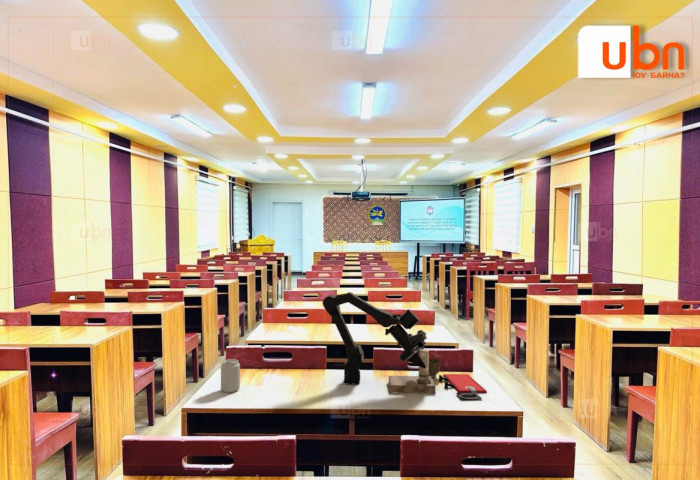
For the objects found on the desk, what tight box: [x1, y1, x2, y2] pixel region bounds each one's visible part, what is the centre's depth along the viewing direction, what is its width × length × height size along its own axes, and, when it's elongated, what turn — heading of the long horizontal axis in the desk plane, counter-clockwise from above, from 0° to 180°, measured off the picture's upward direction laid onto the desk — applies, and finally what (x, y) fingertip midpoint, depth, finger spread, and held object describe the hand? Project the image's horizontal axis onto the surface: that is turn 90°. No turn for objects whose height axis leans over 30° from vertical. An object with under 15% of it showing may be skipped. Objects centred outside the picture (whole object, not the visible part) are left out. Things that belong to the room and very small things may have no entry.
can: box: [220, 358, 241, 394], centre depth 179 cm, size 8×8×12 cm
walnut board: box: [388, 375, 436, 394], centre depth 184 cm, size 18×12×3 cm, turn 89°
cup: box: [429, 357, 442, 379], centre depth 197 cm, size 8×7×8 cm
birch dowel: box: [417, 348, 430, 384], centre depth 182 cm, size 4×4×13 cm
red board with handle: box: [438, 373, 488, 400], centre depth 185 cm, size 30×3×15 cm
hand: (426, 366), depth 182 cm, fingers closed on birch dowel, 4 cm apart
